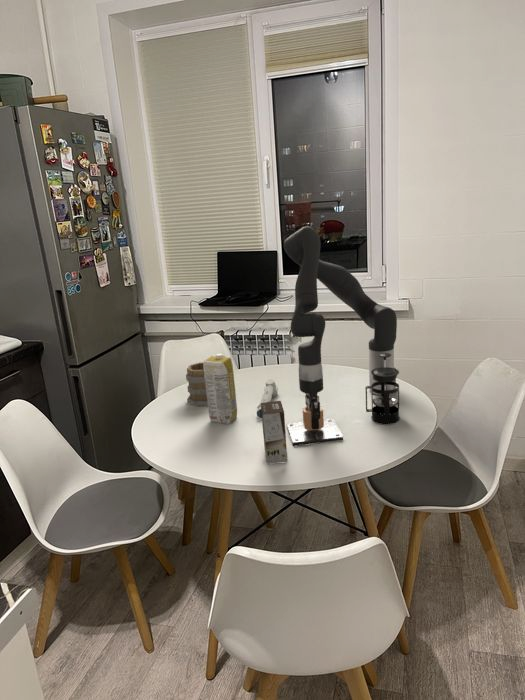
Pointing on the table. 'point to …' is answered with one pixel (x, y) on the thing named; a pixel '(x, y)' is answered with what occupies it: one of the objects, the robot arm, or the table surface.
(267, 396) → the toothbrush head
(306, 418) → the octagonal hollow tube
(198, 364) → the tankard
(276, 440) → the coffee box
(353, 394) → the table surface
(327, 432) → the plate
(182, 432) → the table surface
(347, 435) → the table surface
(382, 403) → the french press
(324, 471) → the table surface
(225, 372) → the juice carton
